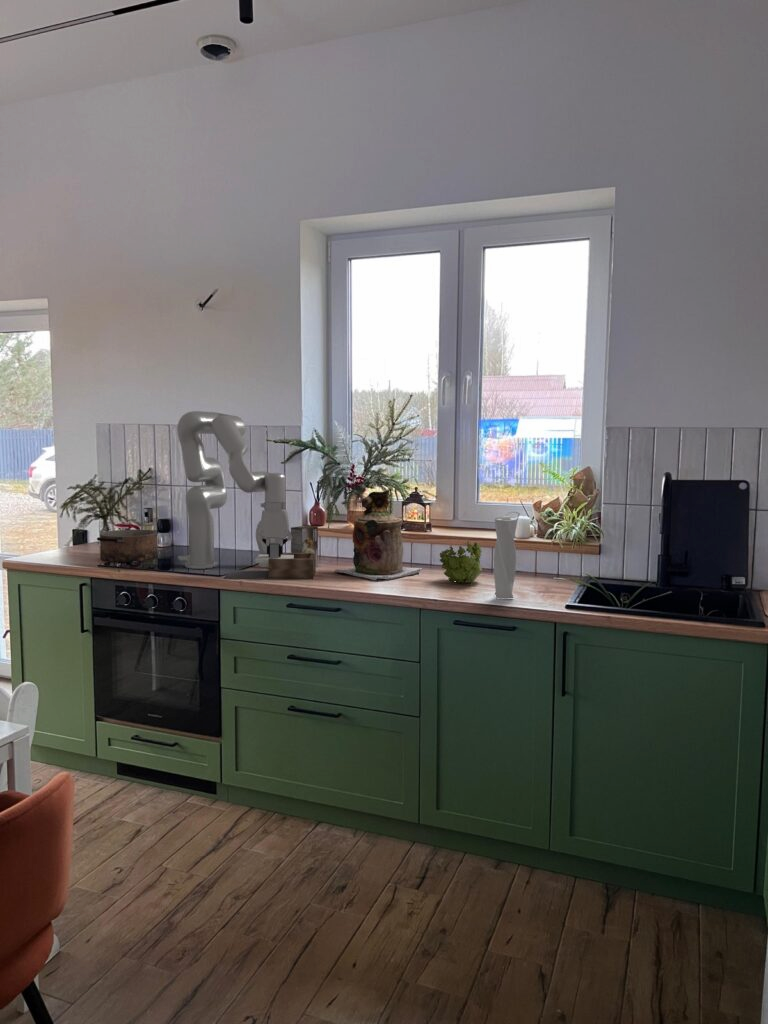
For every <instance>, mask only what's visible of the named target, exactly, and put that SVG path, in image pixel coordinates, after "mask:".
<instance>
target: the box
mask: <svg viewBox="0 0 768 1024" xmlns="http://www.w3.org/2000/svg"><path fill="white" fill-rule="evenodd" d="M281 555H294V559H273V558H269V559H268V562H269V568H268V570H269V575H268V580H314V578H315V575H316V572H317V571H316V570H317V569H316V568H317V567H316V553H291V552H283V554H281Z"/></svg>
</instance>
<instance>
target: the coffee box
mask: <svg viewBox="0 0 768 1024" xmlns="http://www.w3.org/2000/svg"><path fill="white" fill-rule="evenodd" d="M318 528H319V526H315V525H301V526H293V527H291V526H290V533H291V535H292V536H293V538H292V539H291V540H290V553H316V568H317V566H318V567H319V552H318V551H319V544H318V543H319V539H318V538H319V537H318V536H319V534H318V533H319V529H318Z"/></svg>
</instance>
